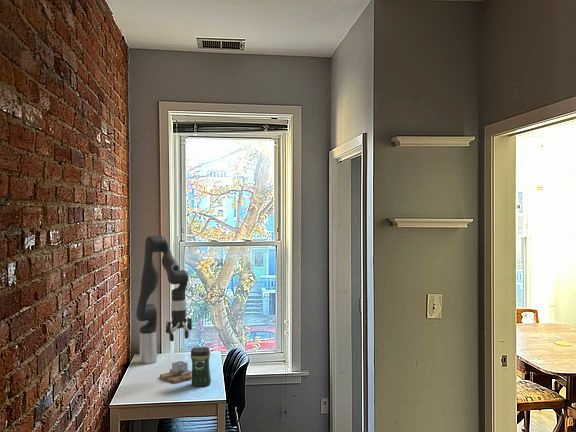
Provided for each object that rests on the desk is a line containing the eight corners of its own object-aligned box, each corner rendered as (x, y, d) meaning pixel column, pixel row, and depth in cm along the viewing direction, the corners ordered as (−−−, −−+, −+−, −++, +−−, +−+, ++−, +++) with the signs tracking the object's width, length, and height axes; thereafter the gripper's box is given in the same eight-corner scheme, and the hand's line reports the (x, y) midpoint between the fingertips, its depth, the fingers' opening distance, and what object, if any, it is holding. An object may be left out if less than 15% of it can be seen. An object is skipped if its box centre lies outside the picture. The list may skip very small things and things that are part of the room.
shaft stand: (159, 377, 295) (159, 363, 295) (184, 371, 306) (184, 357, 305) (175, 383, 284) (174, 368, 284) (200, 377, 295) (199, 363, 294)
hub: (172, 374, 295) (171, 363, 295) (181, 372, 299) (181, 361, 299) (178, 376, 291) (177, 365, 291) (187, 374, 295) (187, 363, 295)
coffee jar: (211, 382, 286) (211, 345, 286) (209, 386, 278) (208, 349, 278) (192, 382, 286) (192, 345, 286) (189, 387, 279) (189, 349, 278)
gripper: (186, 306, 302) (186, 336, 302) (162, 309, 292) (163, 340, 293) (194, 307, 297) (194, 338, 297) (170, 311, 287) (171, 343, 287)
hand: (179, 339), depth 295 cm, fingers open, 8 cm apart
